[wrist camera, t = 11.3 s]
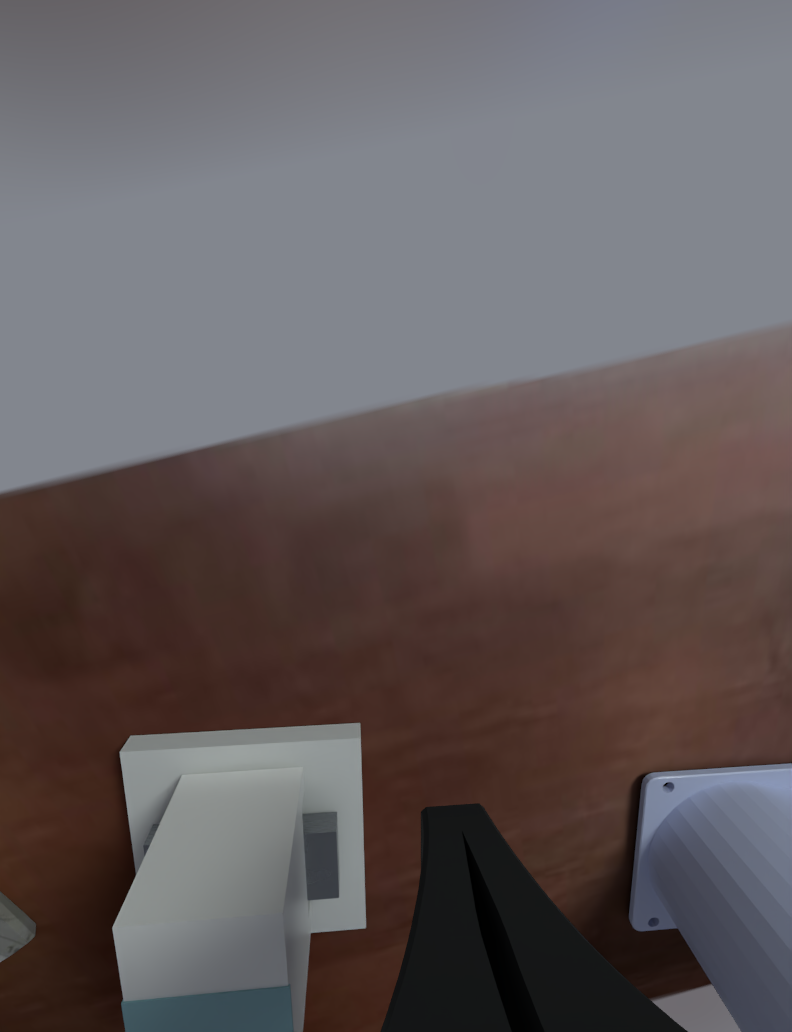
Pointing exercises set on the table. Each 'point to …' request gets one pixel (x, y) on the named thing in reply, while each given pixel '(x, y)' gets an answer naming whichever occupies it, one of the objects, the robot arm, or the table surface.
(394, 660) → the table surface
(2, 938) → the packaged product
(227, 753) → the base
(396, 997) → the robot arm
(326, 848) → the dark grey flat block
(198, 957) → the block
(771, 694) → the table surface
